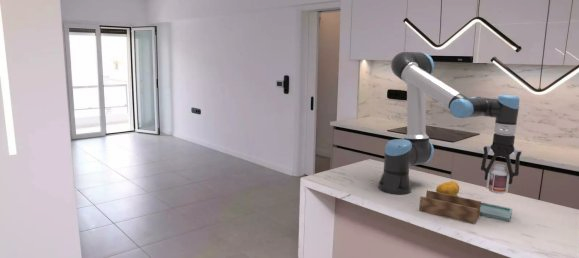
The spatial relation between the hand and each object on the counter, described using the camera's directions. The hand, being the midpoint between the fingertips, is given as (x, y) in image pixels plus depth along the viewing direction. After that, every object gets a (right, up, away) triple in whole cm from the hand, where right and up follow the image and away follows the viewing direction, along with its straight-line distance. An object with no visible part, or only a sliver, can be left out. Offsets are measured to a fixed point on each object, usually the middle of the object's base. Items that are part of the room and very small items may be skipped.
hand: (497, 189), depth 164 cm
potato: (-13, -7, +18) cm, 24 cm away
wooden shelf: (-20, -10, 0) cm, 22 cm away
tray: (0, -10, +2) cm, 10 cm away
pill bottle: (0, -1, 0) cm, 1 cm away
